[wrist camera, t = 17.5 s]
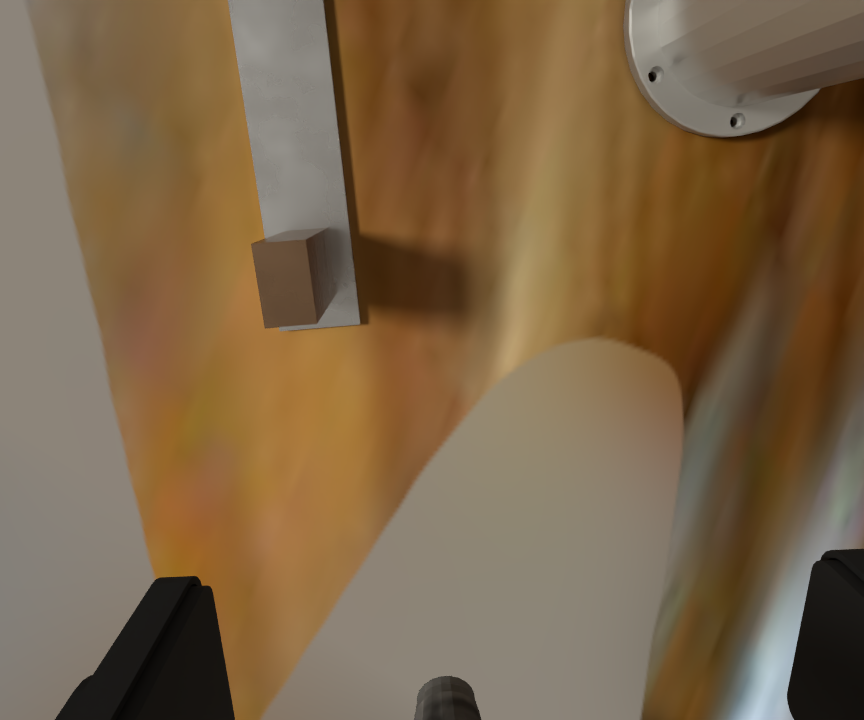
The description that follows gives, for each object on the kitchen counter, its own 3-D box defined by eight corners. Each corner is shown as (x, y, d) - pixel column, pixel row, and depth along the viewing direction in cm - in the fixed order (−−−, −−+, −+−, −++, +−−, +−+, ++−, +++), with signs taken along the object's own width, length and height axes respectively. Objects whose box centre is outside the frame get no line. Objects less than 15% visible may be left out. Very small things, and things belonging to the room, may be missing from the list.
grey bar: (312, -109, 30) (276, -222, 22) (361, 321, 37) (348, 361, 29) (215, -102, 30) (142, -214, 22) (282, 328, 37) (245, 370, 28)
